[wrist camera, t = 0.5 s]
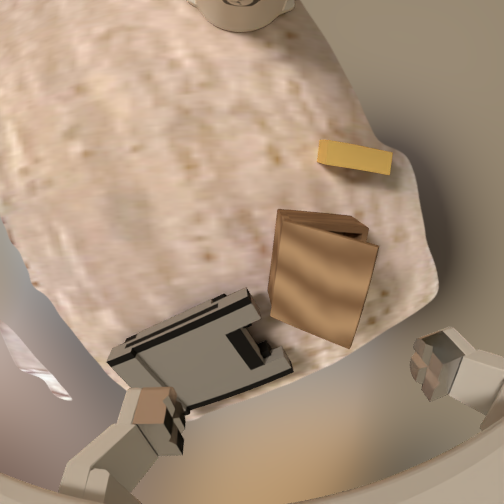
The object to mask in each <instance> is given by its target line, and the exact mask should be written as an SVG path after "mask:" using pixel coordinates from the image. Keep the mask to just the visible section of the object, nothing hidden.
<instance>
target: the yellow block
mask: <svg viewBox="0 0 504 504" xmlns="http://www.w3.org/2000/svg"><path fill="white" fill-rule="evenodd" d="M392 154H393V153H392V152H387V151H383V150H378V149H374V148H369V147H364V146H359V145H353V144H348V143H343V142H337V141H331V140H319V149H318V158H317V162H319V163H322V164H325V165H332V166H339V167H345V168H351V169H358V170H364V171H369V172H375V173H380V174H386V175H390V169H391V162H392Z"/></svg>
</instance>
